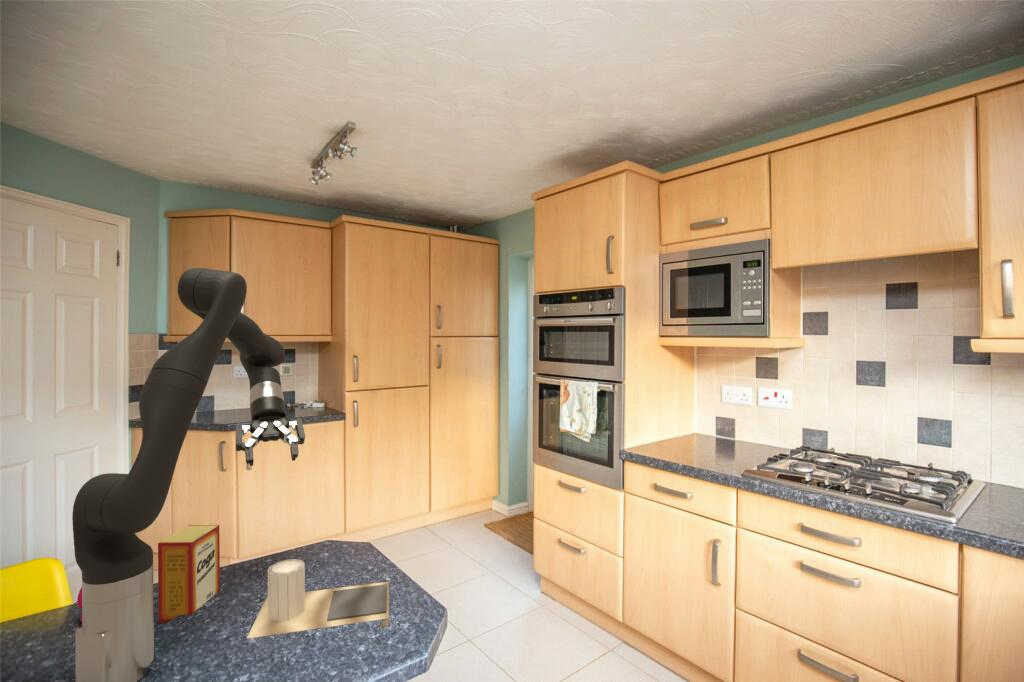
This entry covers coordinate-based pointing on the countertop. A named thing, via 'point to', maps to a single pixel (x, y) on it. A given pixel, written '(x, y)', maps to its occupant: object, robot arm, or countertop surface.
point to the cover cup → (286, 590)
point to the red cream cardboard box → (188, 570)
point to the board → (330, 610)
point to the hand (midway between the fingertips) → (273, 461)
